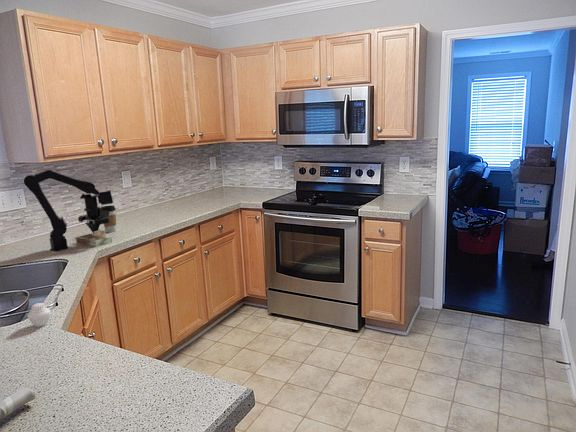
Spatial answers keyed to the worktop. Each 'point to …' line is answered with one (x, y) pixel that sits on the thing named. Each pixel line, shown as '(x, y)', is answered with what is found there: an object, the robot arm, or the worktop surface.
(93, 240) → the trap board
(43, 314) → the pale grey rounded lump
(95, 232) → the beech block
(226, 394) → the worktop surface
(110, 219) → the coffee cup
